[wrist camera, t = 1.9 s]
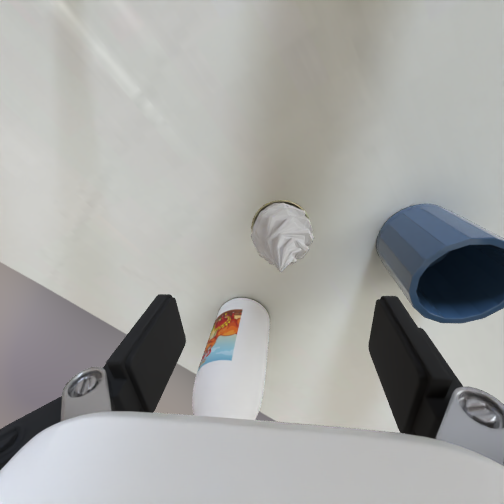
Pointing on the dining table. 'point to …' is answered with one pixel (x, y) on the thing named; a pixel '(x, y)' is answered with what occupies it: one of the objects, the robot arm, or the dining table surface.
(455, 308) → the tumbler
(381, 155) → the dining table surface
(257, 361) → the milk bottle
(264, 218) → the ice cream cone
